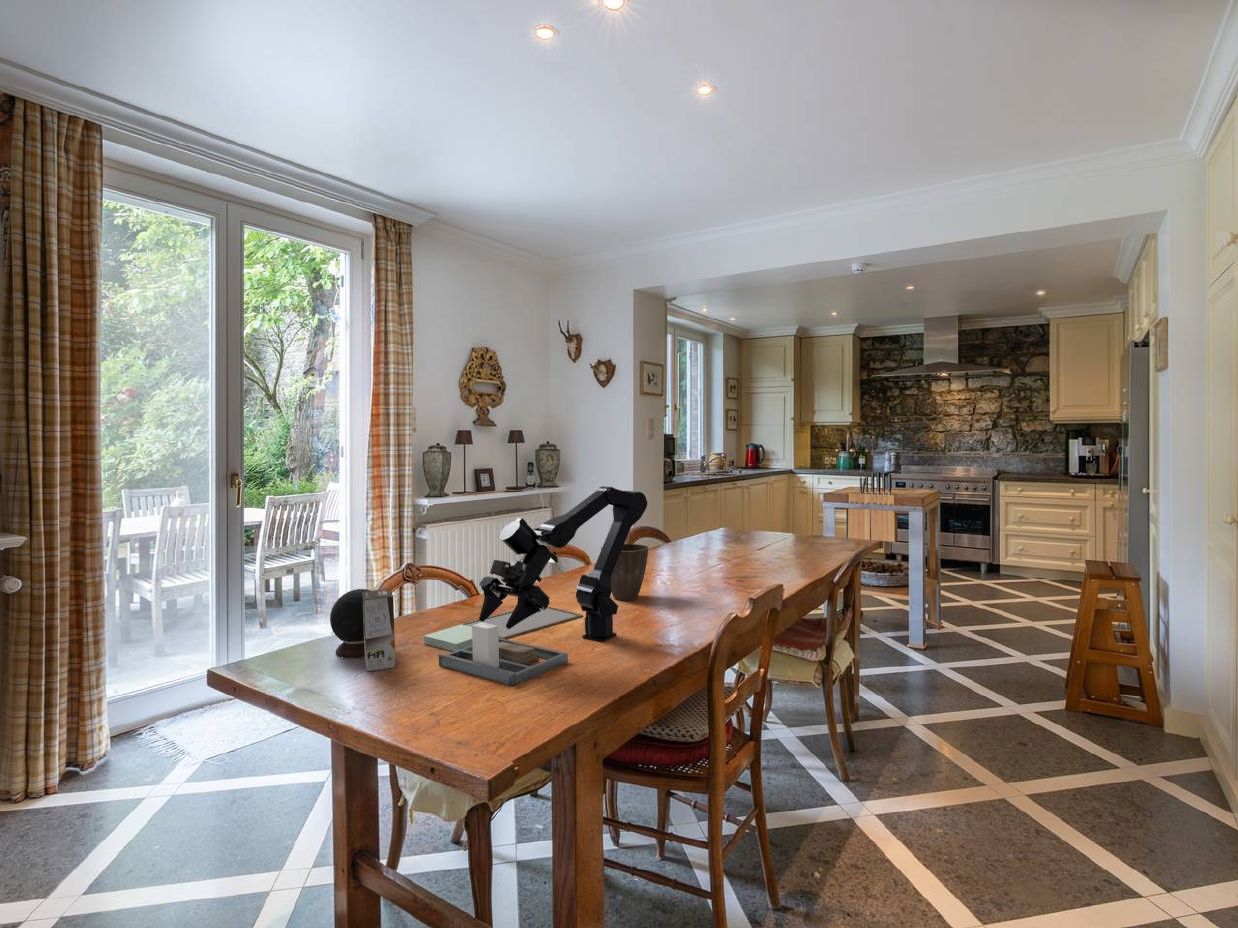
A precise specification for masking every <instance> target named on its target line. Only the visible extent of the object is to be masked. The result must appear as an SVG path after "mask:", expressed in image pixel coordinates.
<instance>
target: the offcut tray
mask: <svg viewBox="0 0 1238 928" xmlns="http://www.w3.org/2000/svg"><path fill="white" fill-rule="evenodd" d="M498 640H499V642H506V643H511V644H516V645H521V646H526V647H531V648H535V652H536V656H538V657H537V658H541V657H542V659H545V658H546V659H545V660H543V661H541V662H540V661H539V662H538V663H536V664H534V665H532V666H527V665H523V664H519V663H515V662H511V661H507V660H503V659H499V668H496V667H492V666H488V665H484V664H481V663H477V662H473V647H472V645H471V646H468V647H465V648H462V649H460V650H457V651H452V652H449V653H439V654H438V666H439V667H441V668H442V667H443V668H447V669H449V670H453V671H457V672H461V673H464V674H467V675H468V674H469V675H472V676H475V677H478V678H482V679H485V680H489V681H492V682H495V683H496V682H497V683H499V684H503V685H506V686H511V687H514V686H516V685H518V684H521V683H523V682H525V680H526V681H528V680H531V679H532V678H534V677H537V676H540V675H541V674H544V673H547V672H548V671H551V670H553V669H555V668H557V666H558V667H560V666H562V665H564V663H565V664H567V663H568V662H569V661H568V660H569V656H568V654H569V653H567V652H563V651H560V650H555V649H550V648H546V647H543V646H542V647H541V646H537V645H532V644H529V643H524V642H521V641H520V642H519V641H515V640H511V639H502V638H498ZM566 662H567V663H566ZM527 679H528V680H527Z"/></svg>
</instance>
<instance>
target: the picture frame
mask: <svg viewBox="0 0 1238 928" xmlns="http://www.w3.org/2000/svg"><path fill="white" fill-rule="evenodd" d="M540 610H541V609H540ZM513 611H514V609H513V610H510V611H505V612H503V613H498V614H495V615H490V616H489V617H488V618H487V619H486V620H485V621H483V623H488V624H493V625H498V638H502V639H507V640H509V639H510V638H514V636H515V637H518V636H522V635H525V634H528V633H531V631H532V632H535V631H538V630H537V629H539V630H541V629H540V628H542V629H545V627H546V628H549V627H552V626H551V625H553V626H555V625H554V624H556V625H558V623H559V624H562V623H561V622H563V623H566V622H569V621H568V620H570V621H572V619H573V620H576V619H579V618H583V617H584V615H583V614H582V613H577V612H572V611H570V610H569V611H568V610H564V609H561V608H560V609H559V608H556V607H552V606H548V607H547V608H546V610H541V611H540V612H536V613H535V614H533V615H531V616H529V617H528V618H526V619H524V620H523V621H521V622H520V623H518V624H516V625H515V626H513V627H512V628H510V629H507V628H506V624H507V622H508V620H509V618H510V616H511V614H512V613H513ZM565 621H566V622H565ZM478 623H481V621H480V620H479V618H478V619H475V620H471V621H467V622H462V623H459V624H458V625H461V624H462V625H466V626H471V627H472V625H475V624H478ZM548 626H549V627H548ZM534 630H535V631H534ZM524 633H525V634H524ZM521 634H522V635H521Z"/></svg>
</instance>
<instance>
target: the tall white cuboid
mask: <svg viewBox="0 0 1238 928" xmlns="http://www.w3.org/2000/svg"><path fill="white" fill-rule="evenodd" d="M472 647H473V662H477V663H481V664H484V665H488V666H492V667H496V668H499V640H498V625H493V624H488V623H483V622H481V623H478V624H475V625H472Z"/></svg>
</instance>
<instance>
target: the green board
mask: <svg viewBox="0 0 1238 928" xmlns="http://www.w3.org/2000/svg"><path fill="white" fill-rule="evenodd" d="M460 624H461V625H459V624H457V625H456V626H451V627H448V628H446V629H442V630H441V629H440V630H438V631H435V632H432V633H428V634H425V635H423V644H424V645H427V646H430V647H431V646H432V647H435V648H439V649H443V650H447V651H452V652H454V651H457V650H460V649H462V648H465V647H468V646H471V645H472V627H471V626H466V625H462V623H460Z"/></svg>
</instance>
